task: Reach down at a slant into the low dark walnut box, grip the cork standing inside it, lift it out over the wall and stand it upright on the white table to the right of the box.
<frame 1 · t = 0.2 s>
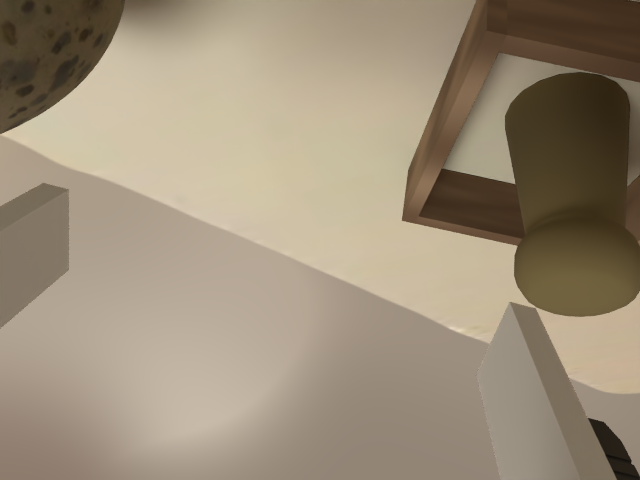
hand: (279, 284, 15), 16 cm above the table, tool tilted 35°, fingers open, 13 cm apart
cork: (564, 115, 28), resting in walnut box
walnut box: (564, 118, 28), on the table
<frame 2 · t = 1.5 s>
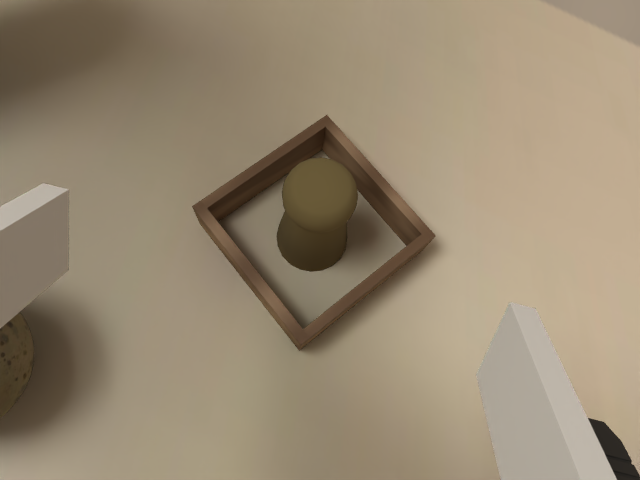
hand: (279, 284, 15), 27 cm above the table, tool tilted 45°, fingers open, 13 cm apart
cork: (311, 238, 44), resting in walnut box
walnut box: (312, 237, 44), on the table
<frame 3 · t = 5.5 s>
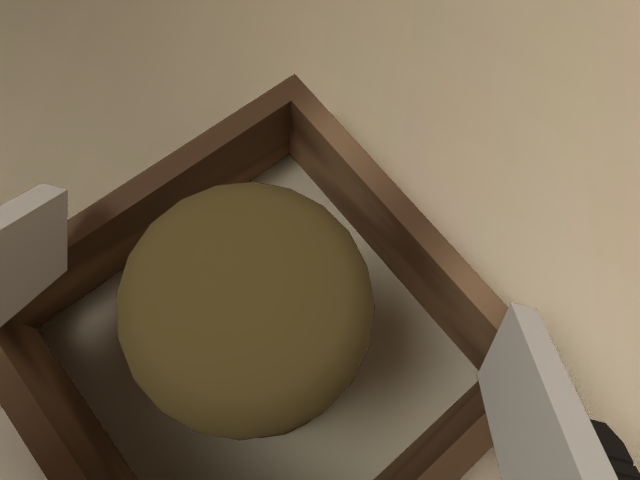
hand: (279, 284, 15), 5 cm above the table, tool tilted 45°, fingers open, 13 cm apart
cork: (263, 353, 20), resting in walnut box
walnut box: (263, 352, 20), on the table
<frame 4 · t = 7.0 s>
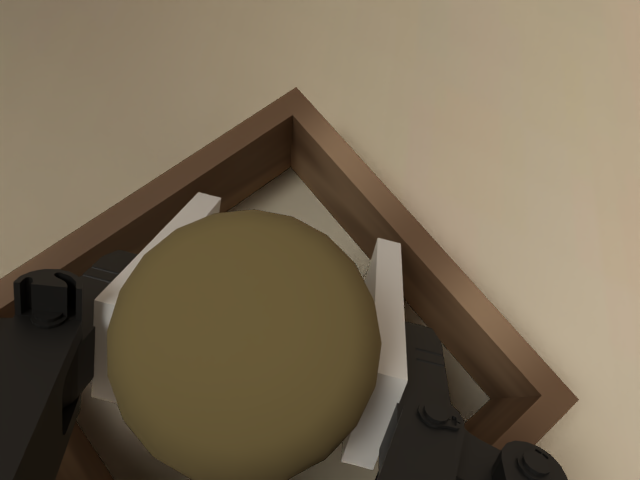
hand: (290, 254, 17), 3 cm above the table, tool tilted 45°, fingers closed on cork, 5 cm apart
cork: (263, 374, 19), resting in walnut box, touching gripper
walnut box: (263, 374, 19), on the table
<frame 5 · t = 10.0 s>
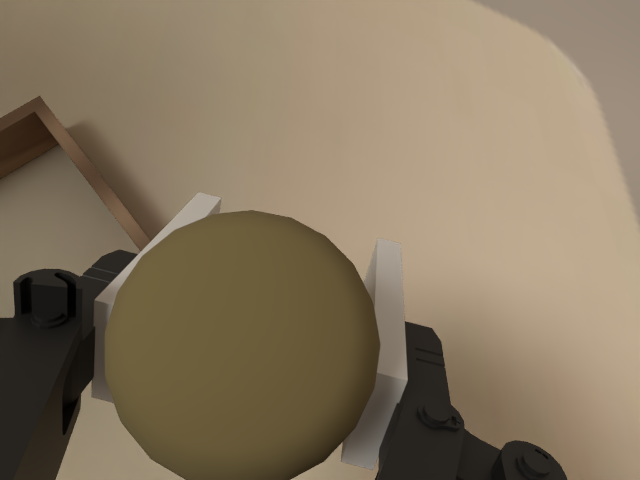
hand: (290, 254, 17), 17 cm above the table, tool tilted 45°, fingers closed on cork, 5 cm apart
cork: (262, 375, 19), point 14 cm above the table, touching gripper
walnut box: (27, 258, 33), on the table
when the fingers open (5 cm above the table, at t = 13.1 s): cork drops 1 cm, on the table.
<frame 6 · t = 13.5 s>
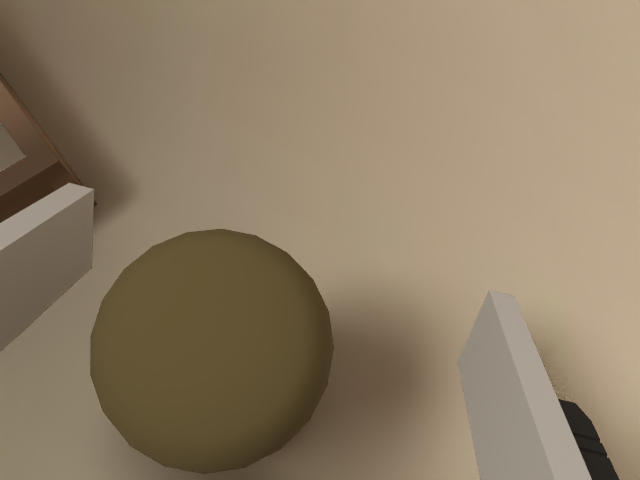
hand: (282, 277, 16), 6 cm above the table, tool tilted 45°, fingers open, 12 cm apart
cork: (245, 373, 20), on the table
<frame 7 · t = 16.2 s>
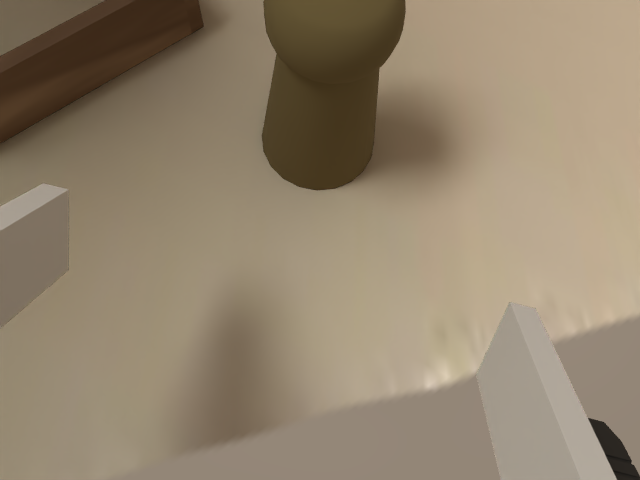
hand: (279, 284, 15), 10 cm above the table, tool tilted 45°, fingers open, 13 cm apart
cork: (317, 140, 28), on the table
walnut box: (34, 4, 29), on the table
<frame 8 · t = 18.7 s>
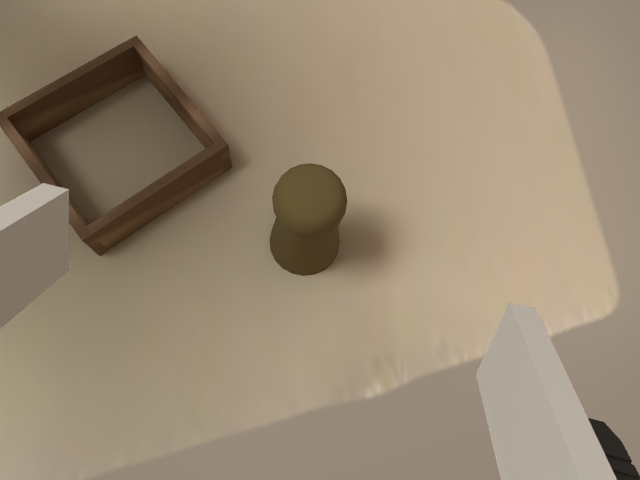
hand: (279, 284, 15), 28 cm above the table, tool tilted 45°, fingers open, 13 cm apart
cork: (304, 242, 45), on the table
walnut box: (125, 153, 46), on the table
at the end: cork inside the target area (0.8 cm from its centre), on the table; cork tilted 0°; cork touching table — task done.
